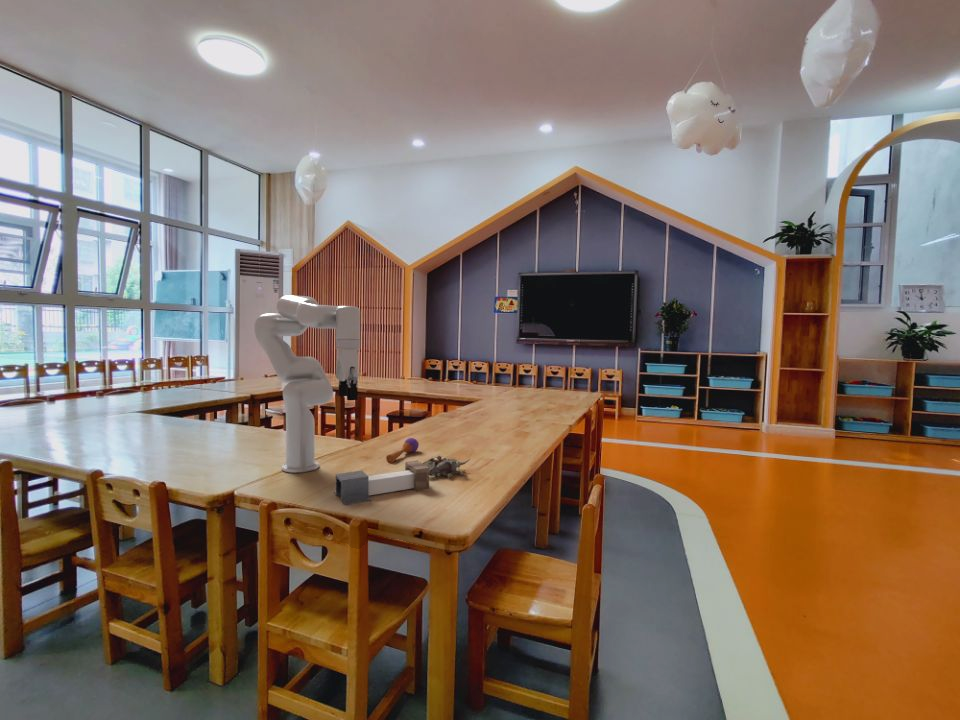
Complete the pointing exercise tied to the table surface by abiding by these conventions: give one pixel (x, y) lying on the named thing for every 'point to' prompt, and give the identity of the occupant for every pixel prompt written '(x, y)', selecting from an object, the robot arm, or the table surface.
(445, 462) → the figurine
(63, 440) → the table surface
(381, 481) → the white block
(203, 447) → the table surface
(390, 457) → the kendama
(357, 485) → the sleeve
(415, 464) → the socket block
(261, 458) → the table surface
